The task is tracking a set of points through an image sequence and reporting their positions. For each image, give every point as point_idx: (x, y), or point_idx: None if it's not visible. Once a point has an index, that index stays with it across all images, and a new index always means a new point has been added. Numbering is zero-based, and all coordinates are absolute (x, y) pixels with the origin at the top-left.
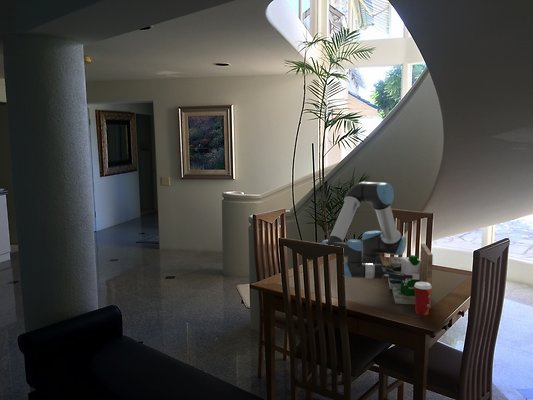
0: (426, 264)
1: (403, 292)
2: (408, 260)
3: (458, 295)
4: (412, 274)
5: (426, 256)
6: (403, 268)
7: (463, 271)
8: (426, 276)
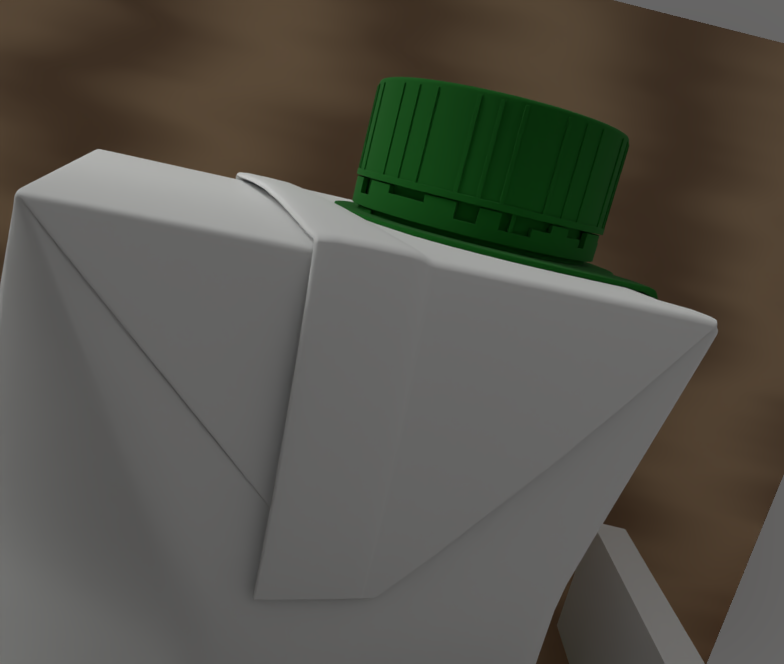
0: (683, 288)
1: None
2: (542, 269)
3: None
4: (676, 637)
5: (703, 125)
6: (423, 653)
7: None
8: (660, 501)
